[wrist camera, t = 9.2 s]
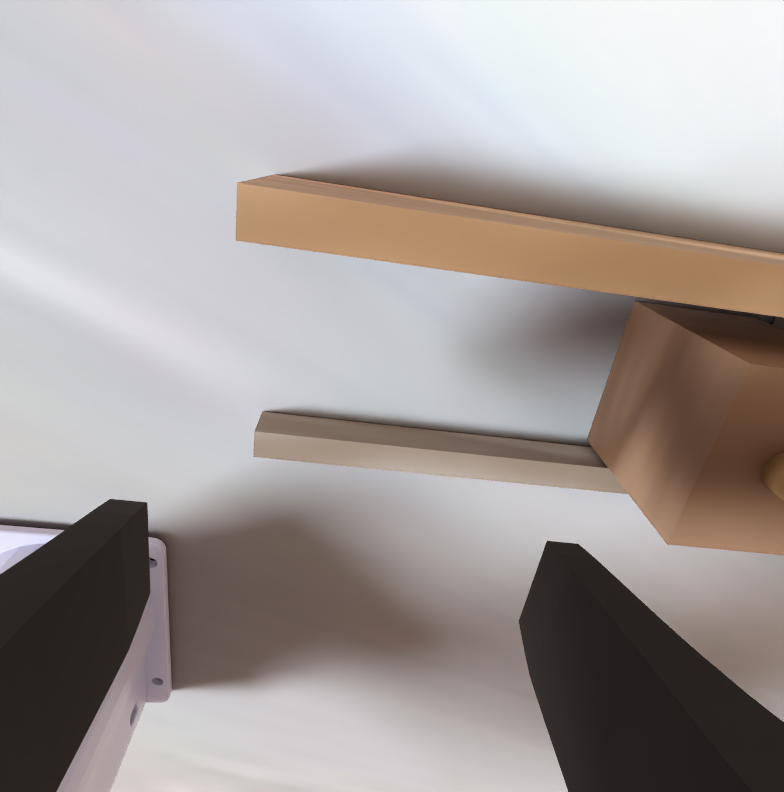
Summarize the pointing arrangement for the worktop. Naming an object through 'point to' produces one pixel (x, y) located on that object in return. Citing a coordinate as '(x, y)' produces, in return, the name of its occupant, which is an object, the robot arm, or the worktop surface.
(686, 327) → the cabinet block
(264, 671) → the worktop surface
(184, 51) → the worktop surface
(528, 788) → the worktop surface
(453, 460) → the board
